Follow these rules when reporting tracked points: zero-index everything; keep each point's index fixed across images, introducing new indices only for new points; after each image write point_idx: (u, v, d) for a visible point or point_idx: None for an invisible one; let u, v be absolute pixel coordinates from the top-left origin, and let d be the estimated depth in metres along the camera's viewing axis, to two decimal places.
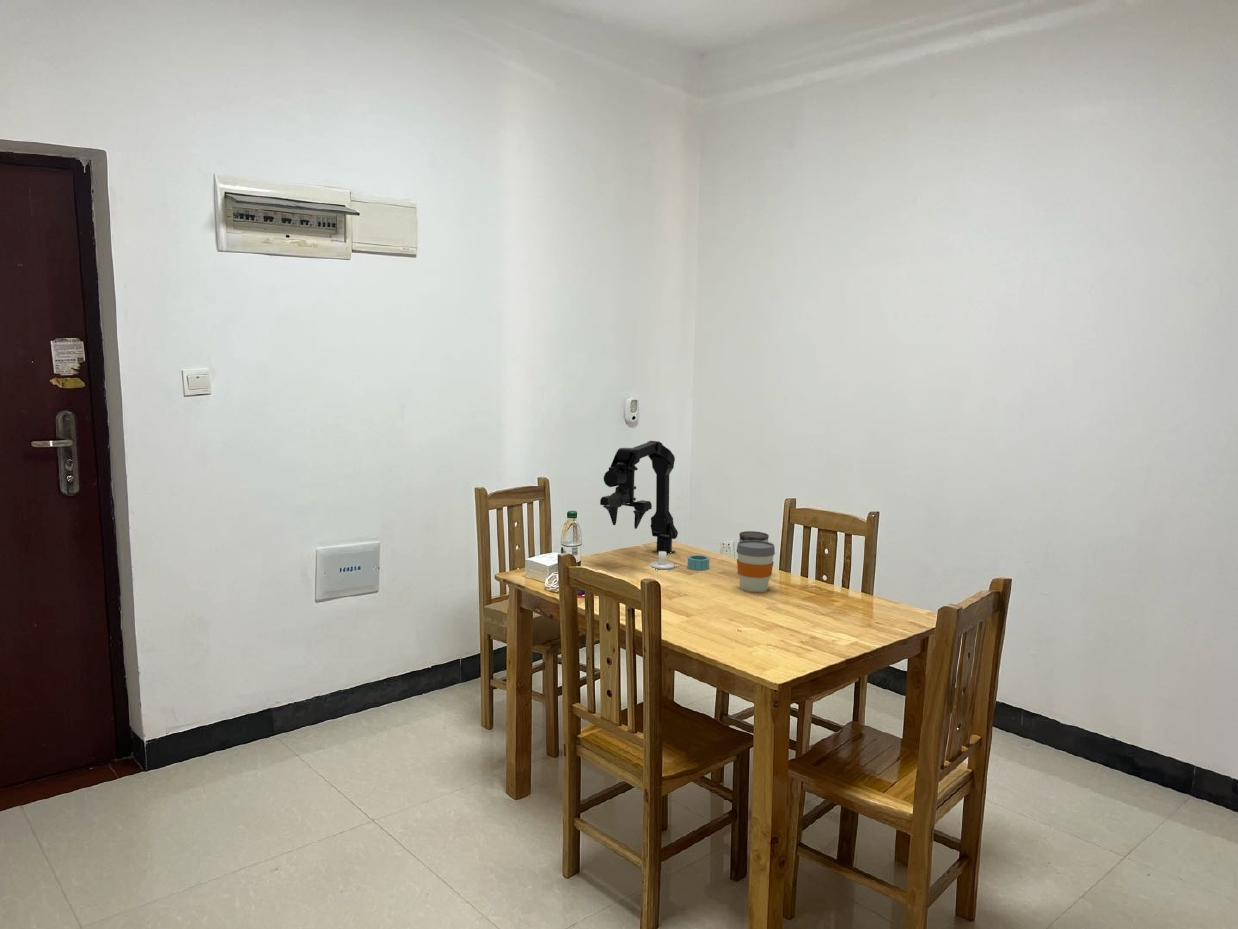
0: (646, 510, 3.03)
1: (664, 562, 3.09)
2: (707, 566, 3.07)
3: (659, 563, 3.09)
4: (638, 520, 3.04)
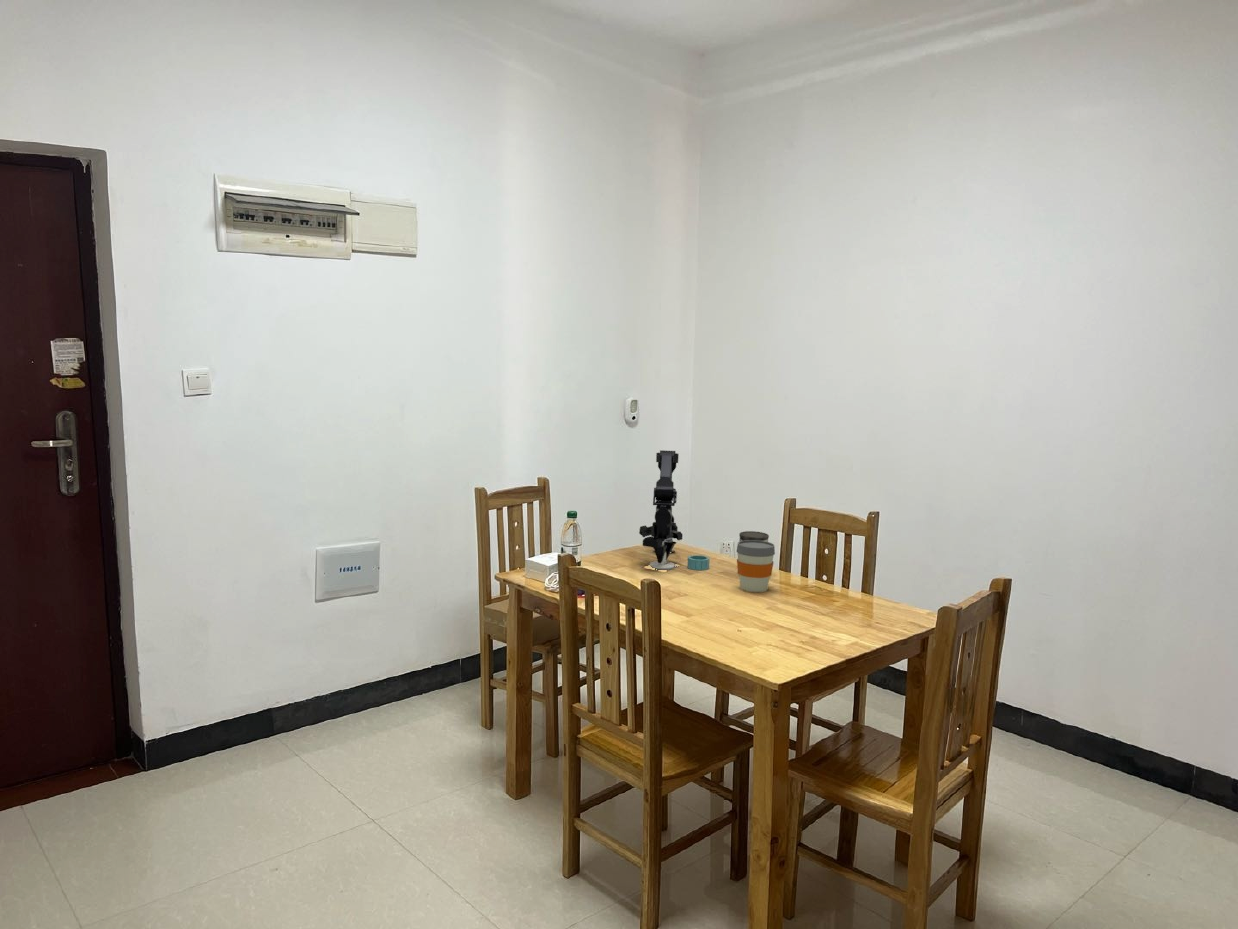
0: (658, 546, 3.04)
1: (664, 562, 3.09)
2: (707, 566, 3.07)
3: (659, 563, 3.09)
4: (658, 555, 3.07)
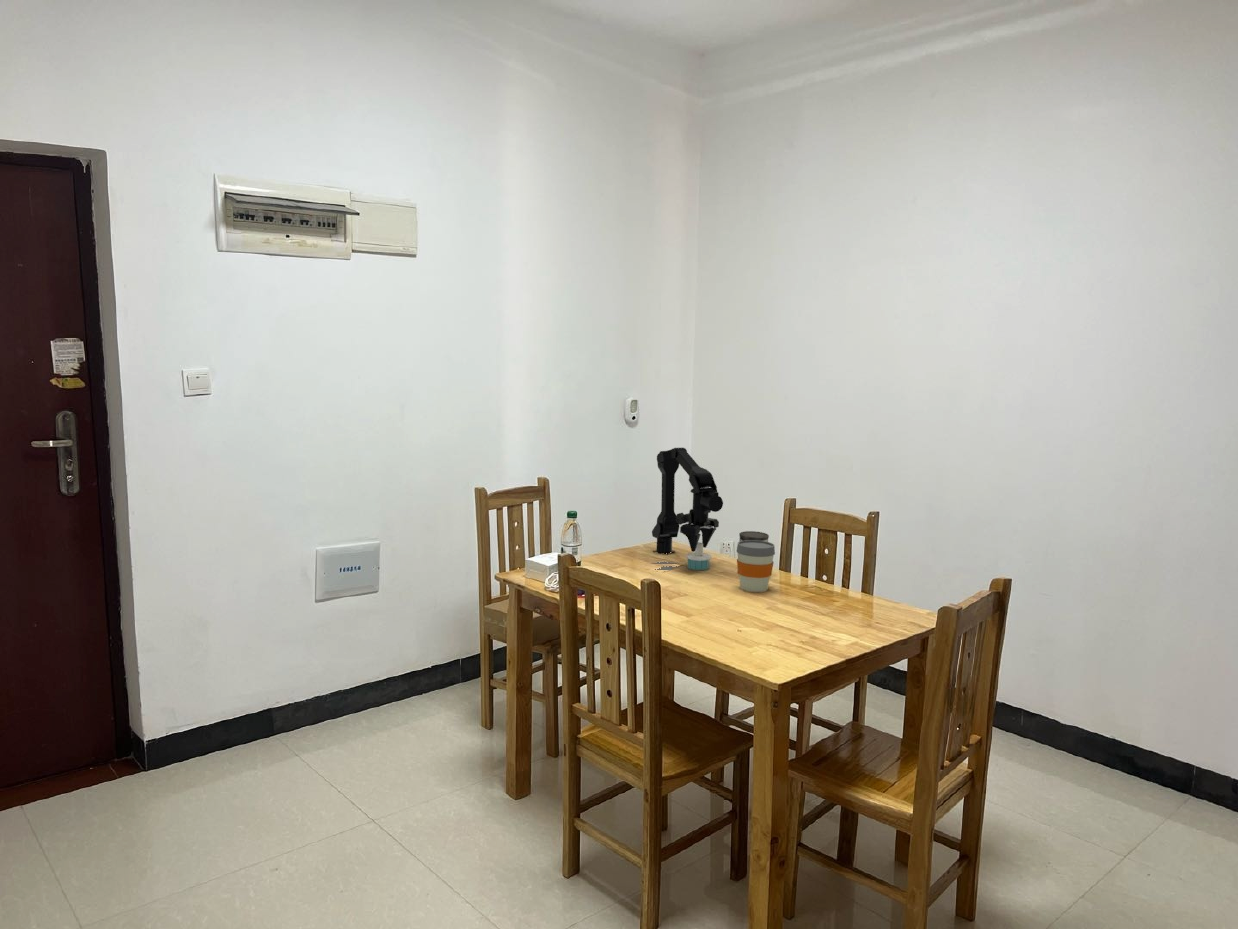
0: (692, 534, 3.01)
1: (701, 553, 3.08)
2: (707, 566, 3.07)
3: (696, 554, 3.08)
4: (691, 543, 3.04)
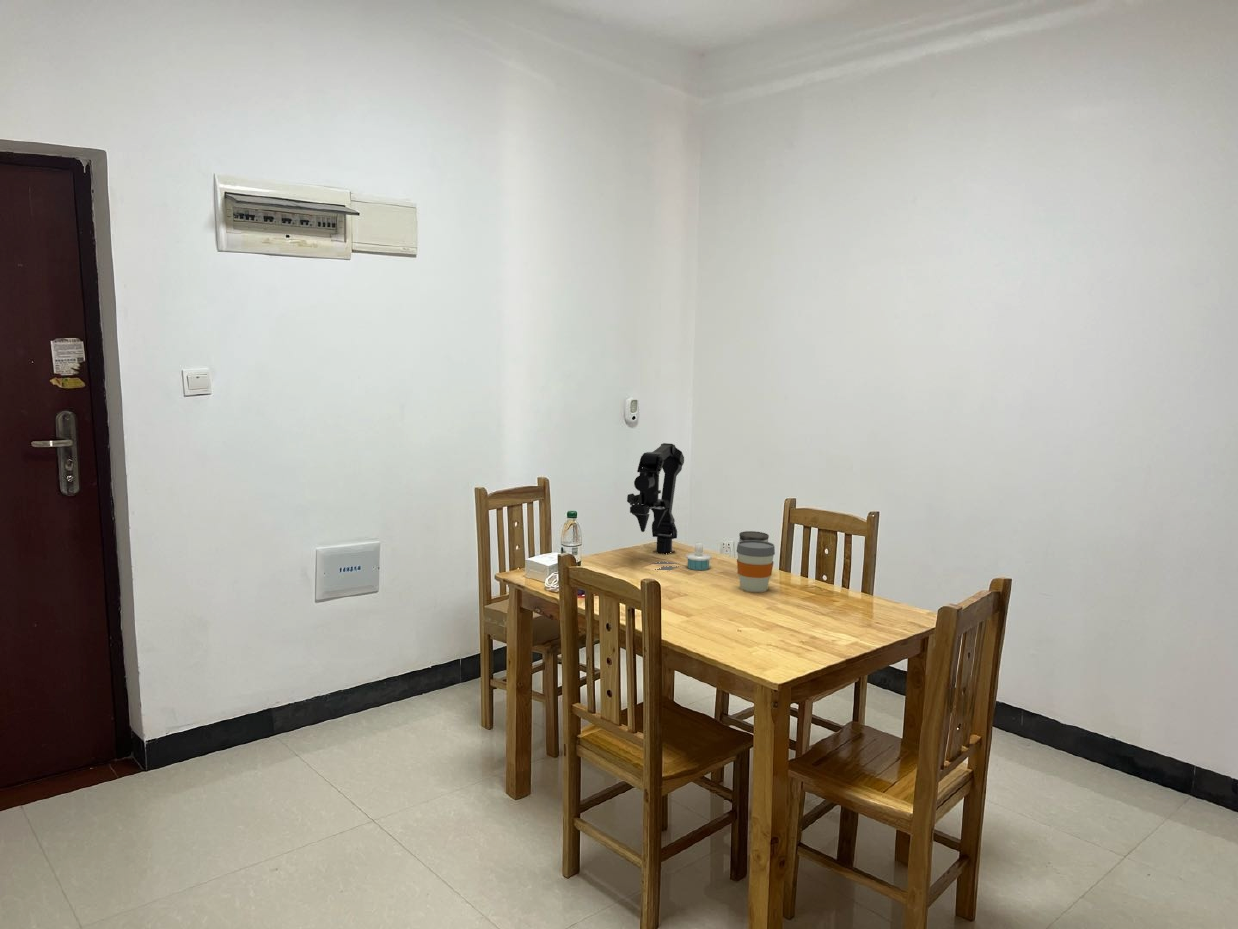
0: (641, 515, 3.06)
1: (701, 553, 3.08)
2: (707, 566, 3.07)
3: (696, 554, 3.08)
4: (641, 523, 3.09)
